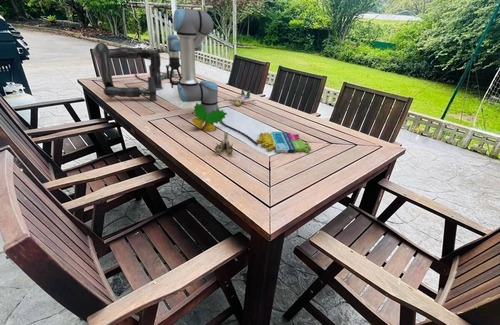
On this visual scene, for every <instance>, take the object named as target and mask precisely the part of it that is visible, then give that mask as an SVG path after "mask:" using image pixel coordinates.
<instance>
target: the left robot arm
mask: <svg viewBox="0 0 500 325" xmlns="http://www.w3.org/2000/svg"><path fill="white" fill-rule="evenodd" d="M92 53H93V56H95V57H96V58H97V59H99V62H100V77H101V82H102V85H103V86H104V88H103V90H102V91H103V94H104V95H105V96H107V97H108V98H110V99H113V98H115V97H120V98H141V97H150V95H156V96H157V91H156V92H149V88H141V89H140V87H138V86H131V87H130V86H128V87H117V86H115V85H114V81H113V80H114V79H113V75H112V71H111V62H110V59H116V60H117V59H118V60H129V61H130V60H139V59H144V60H148V61H150V64H149V65H148V69H149V70H148V71H149V77H154V81H155V90H161V89H163V82H162V80H161V75H162V73H160V72H161V64H162V63H161V62H162V61H161V53H160V52H159V51H158V50H157V49H153V48H143V49H141V48H136V47H129V46H122V47H121V46H120V47H115V48H109V46H108V45H107V44H105V43H104V42H98V43H97V44H96V45H95V46H94V48H93V50H92ZM132 74H135V77H136V78H137V79H139V80H141V81H144V82H146V83H148V80H146V79H143V78H142V77H141V78H140V77H138V76H137V72H136V71H132Z"/></svg>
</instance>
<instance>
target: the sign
mask: <svg viewBox="0 0 500 325" xmlns="http://www.w3.org/2000/svg"><path fill="white" fill-rule="evenodd" d="M299 136H300V135H299V134H298V133H296V134H294V133H291V132H287V131H270V132H264V133H263V132H260V133H259V139H258V138H257V139H256V140H255V142H256V143H257V144H261V148H263V147H264V148H265V149H267V151H268V152H271V151H272V150H273V149H275V152H276V153H283V154H285V153H287V154H288V153H290V154H293V153H296V152H298V153H301V152H305V153H310V151H311V150H312V149H311V148H312V146H309V142H304V141H303V139H302V138H299Z"/></svg>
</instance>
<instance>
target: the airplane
mask: <svg viewBox="0 0 500 325" xmlns="http://www.w3.org/2000/svg"><path fill="white" fill-rule="evenodd" d="M160 73H161V81H163V80H165V79H168V78H167V72H163V71H162V72H161V71H160ZM170 73H171V69H169V77H170ZM180 75H181V76H182V74H181V73H180ZM177 76H179V75H178V73H177V71H176V70H173V74H172V77H174V78H176V77H177Z"/></svg>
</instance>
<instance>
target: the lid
mask: <svg viewBox="0 0 500 325" xmlns="http://www.w3.org/2000/svg"><path fill="white" fill-rule="evenodd" d="M178 84H180V83H179V80H173V86H177V85H178Z"/></svg>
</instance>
